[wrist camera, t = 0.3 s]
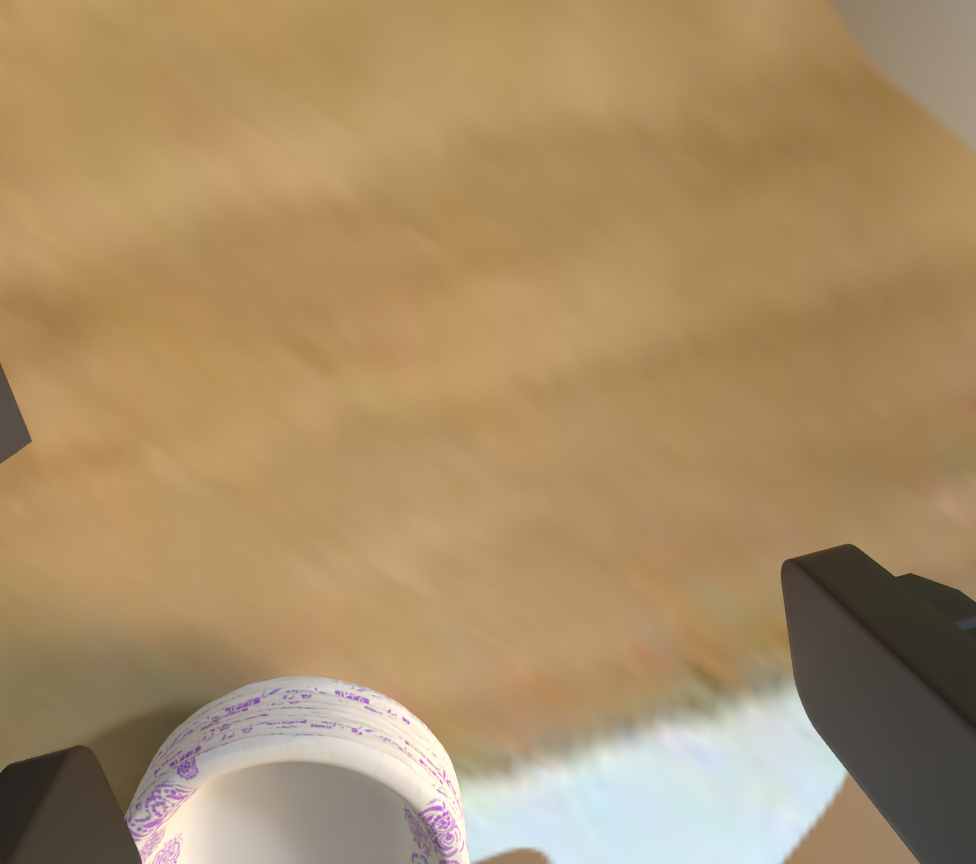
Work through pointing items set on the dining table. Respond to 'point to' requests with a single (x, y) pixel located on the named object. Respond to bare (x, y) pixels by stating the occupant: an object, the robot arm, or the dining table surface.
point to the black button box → (10, 422)
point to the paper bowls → (300, 782)
